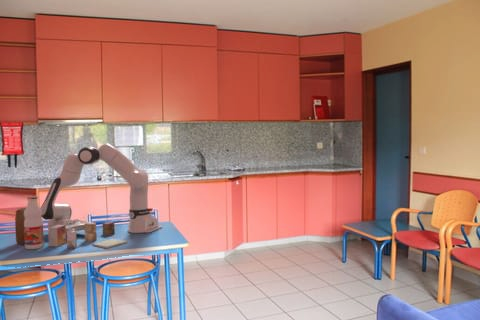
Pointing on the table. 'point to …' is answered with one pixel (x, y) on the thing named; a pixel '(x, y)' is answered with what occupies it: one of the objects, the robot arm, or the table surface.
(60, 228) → the small box
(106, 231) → the walnut block
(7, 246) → the table surface
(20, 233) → the block
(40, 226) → the fruit juice
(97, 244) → the beige flat square plate
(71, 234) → the metal can
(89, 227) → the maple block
